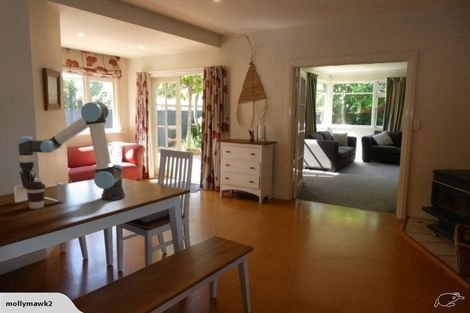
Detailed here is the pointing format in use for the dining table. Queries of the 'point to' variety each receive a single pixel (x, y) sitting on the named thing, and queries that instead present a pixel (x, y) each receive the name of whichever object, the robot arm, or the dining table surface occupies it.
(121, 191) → the robot arm
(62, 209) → the dining table surface
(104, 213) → the dining table surface
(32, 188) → the coffee cup
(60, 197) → the wall frame
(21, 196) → the door
